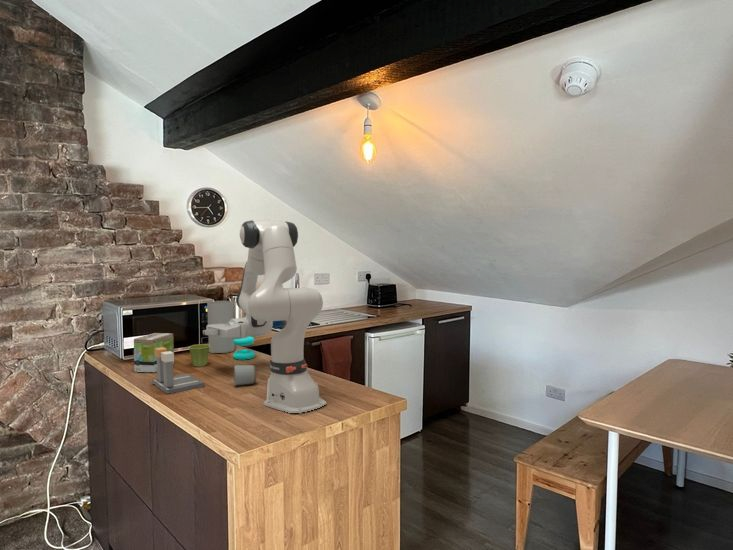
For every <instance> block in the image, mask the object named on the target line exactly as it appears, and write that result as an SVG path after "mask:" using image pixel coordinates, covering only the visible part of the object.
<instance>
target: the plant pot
mask: <svg viewBox="0 0 733 550" xmlns="http://www.w3.org/2000/svg"><path fill="white" fill-rule="evenodd" d="M187 348H188V349H189V352H190V356H191V362H192V367H197V368H200V367H205V366H207V365H208V361H209V353H210V352H209V348H210V345H209V344H206V343H205V344H201V343H200V344H192V345H190V346H189V345H188V347H187Z"/></svg>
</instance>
